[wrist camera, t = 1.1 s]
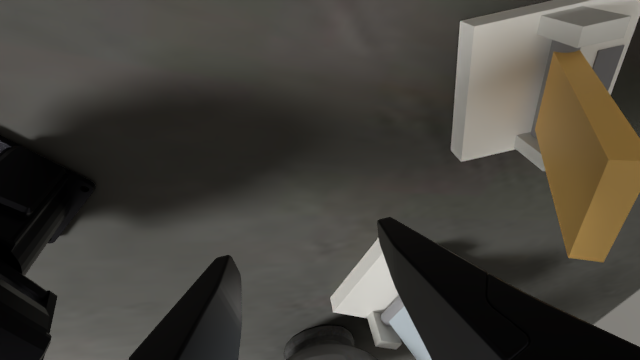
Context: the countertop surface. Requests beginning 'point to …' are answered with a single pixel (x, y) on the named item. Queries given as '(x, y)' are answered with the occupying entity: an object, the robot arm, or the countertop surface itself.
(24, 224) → the robot arm
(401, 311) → the slate lever
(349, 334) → the pitcher
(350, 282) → the switch plate
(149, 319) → the countertop surface
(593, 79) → the amber lever
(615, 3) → the switch plate
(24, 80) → the countertop surface
